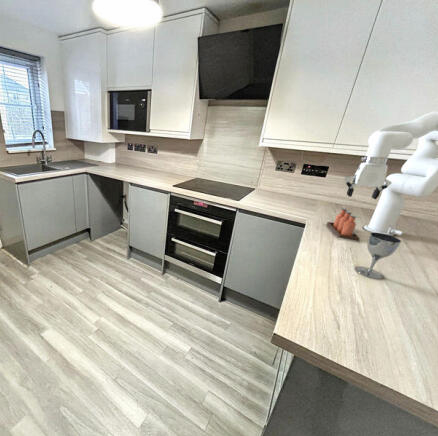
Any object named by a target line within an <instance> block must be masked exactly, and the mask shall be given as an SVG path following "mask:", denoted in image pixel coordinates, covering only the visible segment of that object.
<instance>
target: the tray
mask: <svg viewBox="0 0 438 436" xmlns="http://www.w3.org/2000/svg"><path fill="white" fill-rule="evenodd" d="M326 225H327V226H328V228H329V229H330V230H331V231H332V232H333V233H334V234H335V235H336V237H338V238H339V239H345V240H350V241H351V240H352V241H356V242H359V241H360V238H361V237H359V236H358V235H357V234H356V233H355V232H354V231H353V234H352V236H346V235H341V233H339V232H338V231H337V229H336V228H334V227H333V225H334V222H331V221H327V222H326Z"/></svg>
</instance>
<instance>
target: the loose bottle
mask: <svg viewBox="0 0 438 436" xmlns="http://www.w3.org/2000/svg"><path fill="white" fill-rule="evenodd" d="M356 218H357V215H353V214H351V215H350V218H349V220H347V221H345V223H344V226H343V228H342V231H341V235H346V236H352V234H353V232H354V231H355V229H356V227H357V223H356Z"/></svg>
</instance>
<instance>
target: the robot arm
mask: <svg viewBox="0 0 438 436" xmlns="http://www.w3.org/2000/svg"><path fill="white" fill-rule="evenodd" d="M416 139H418V140H417V141H418V142H417V148H416V150H415V151H414V152H413V154H412V155H411V156H410V157H409V158H408V159H407V160H406V161H405V162H404V164H402V167H401V169H400V171H401V172H400V173H397V172H396V173H391V174H389V175H388V176H387V173H388V165H389V164H387V161H388V159H389V157H390V154H391V151H392V150H396V151H400V150H405V149H407V148H408V147H409V146H411V145H412V143H413V141H414V140H416ZM437 142H438V110H437V111H430V112H427V113H425V114H423V115H421V116H418V117H416V118H415V119H413V120H410V121H405V122H400V123H397V124H391V125H387V126H384V127H381V128H380V129H378V130H376V131H375V132H373V133H372V134H371V135H370V136H369V138H368V140H367V144H368V148H367V150H366V154H365V155H364V157H361V158H360V161H362V162H361V163H360V164H359V166H358V168H357V169H356V172H355V173H354V175H350V176H348V177H345V178H344V182H345V185H346V186H347V187H348V188H347V191H346V196H347V197H349V198H351V197H352V196H353V194H354V191H355V189H354V188H356V187H358V186H361V187H370V188H375V189H374V190H373V192H372V195H371V198H372V199H373V200H377V199H378V198H379V200H378V202H377V204H376V207H375V209H374V212H373V214H372V216H371V218H370V221H369V223H368V224H365V225H363V226H364V227H363V228H364V229H365V230H366V231H369V232H371V233H381V234H386V235H390V236H395V235H398V236H402V235H403V234H404V231H402V230H400V229H397V226H396V223H397V221H398V219H399V217H400V215H401V213H402V210H403V209H404V206H405V205H406V199H405V197H404V195H407V196H410V197H415V198H426V197H428V196H430V195H431V194H432V193H433V192H435V190H436V189H437V187H438V143H437ZM386 176H387V177H386ZM350 181H352V182H350ZM380 194H381V195H380ZM379 196H380V197H379Z"/></svg>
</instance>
